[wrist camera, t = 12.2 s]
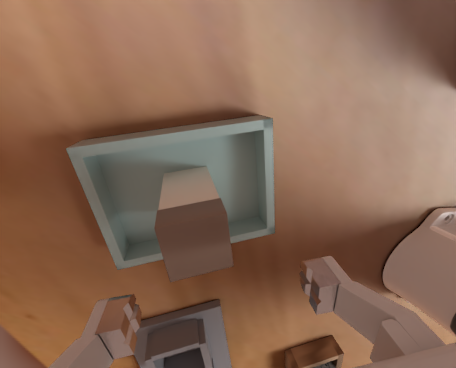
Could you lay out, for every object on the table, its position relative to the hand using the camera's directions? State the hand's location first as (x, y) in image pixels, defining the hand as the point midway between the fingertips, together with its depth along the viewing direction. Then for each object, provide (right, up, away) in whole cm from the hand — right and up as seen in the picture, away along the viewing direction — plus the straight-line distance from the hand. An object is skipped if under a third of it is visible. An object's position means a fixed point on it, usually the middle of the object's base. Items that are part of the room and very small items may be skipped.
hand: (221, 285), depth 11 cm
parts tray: (-4, +5, +11) cm, 13 cm away
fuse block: (-6, -20, +21) cm, 29 cm away
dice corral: (+15, -27, +29) cm, 42 cm away
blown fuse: (-3, +4, +10) cm, 12 cm away
